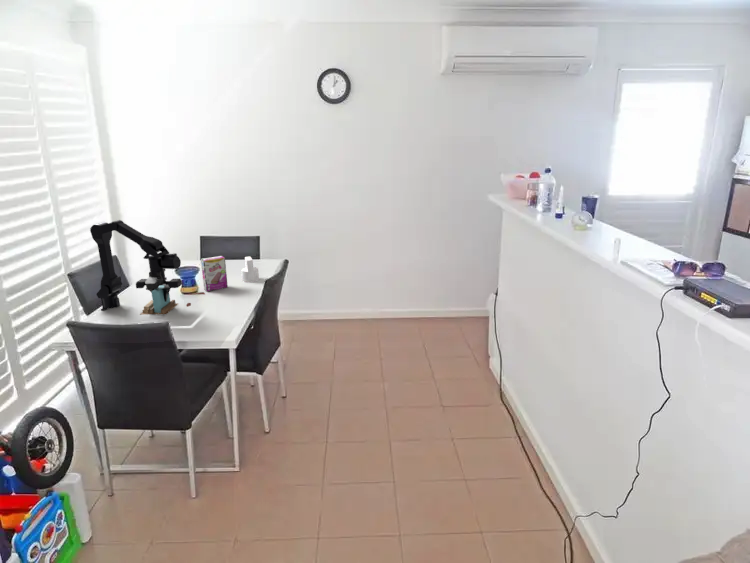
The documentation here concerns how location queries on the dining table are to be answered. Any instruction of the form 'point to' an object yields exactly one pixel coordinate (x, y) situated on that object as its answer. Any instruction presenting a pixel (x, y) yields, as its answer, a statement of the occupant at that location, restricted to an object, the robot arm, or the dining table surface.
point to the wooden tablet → (194, 294)
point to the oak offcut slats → (148, 307)
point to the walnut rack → (164, 310)
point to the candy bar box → (214, 273)
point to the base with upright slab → (249, 271)
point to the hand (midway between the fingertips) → (161, 301)
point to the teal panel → (159, 299)
